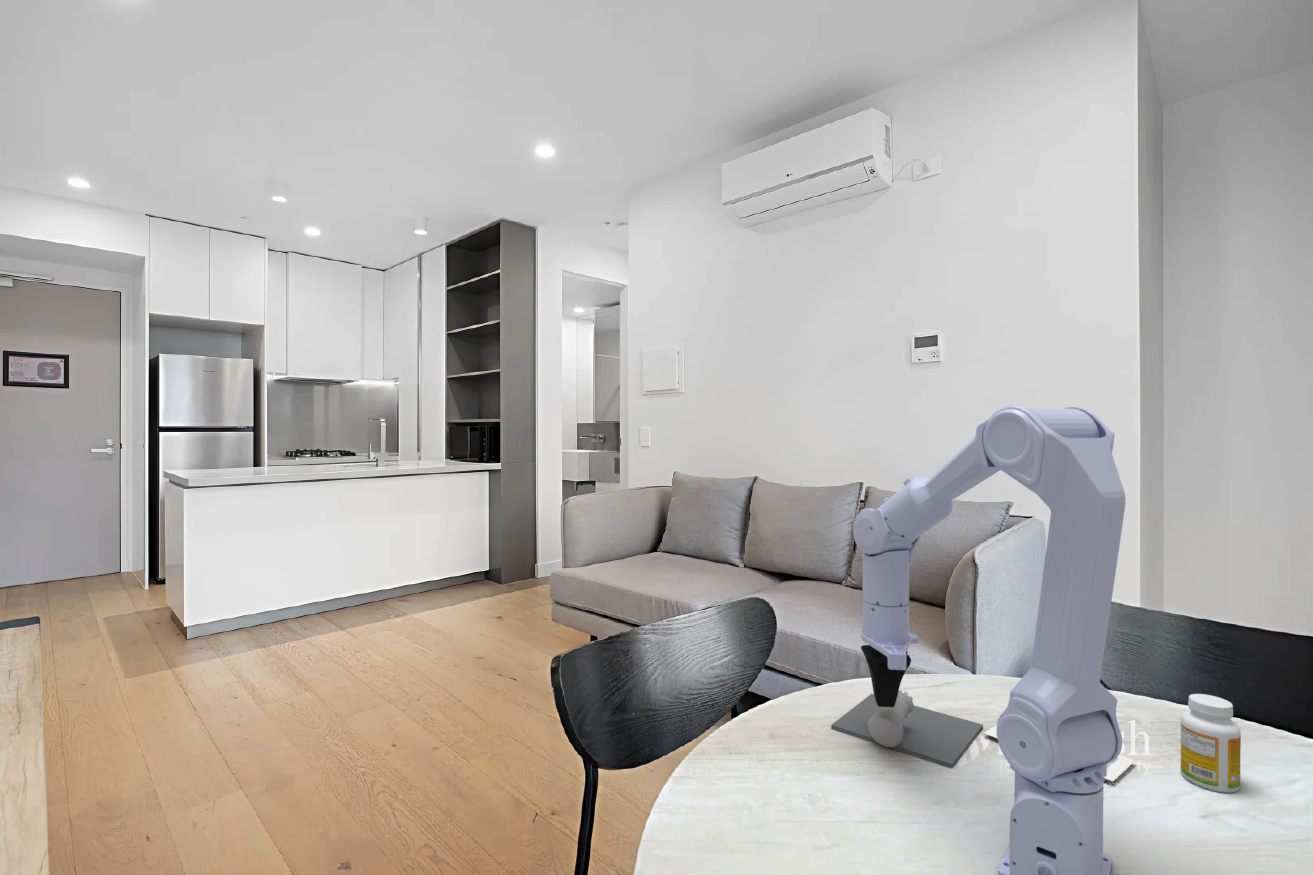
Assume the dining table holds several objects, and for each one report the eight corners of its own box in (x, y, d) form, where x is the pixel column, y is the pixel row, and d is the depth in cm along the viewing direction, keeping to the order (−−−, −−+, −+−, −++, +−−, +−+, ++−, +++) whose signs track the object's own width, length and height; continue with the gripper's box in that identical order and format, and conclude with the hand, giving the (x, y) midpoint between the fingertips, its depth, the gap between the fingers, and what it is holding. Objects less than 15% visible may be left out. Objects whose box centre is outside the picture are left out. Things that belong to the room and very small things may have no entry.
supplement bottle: (1223, 772, 78) (1224, 693, 78) (1251, 797, 73) (1252, 712, 73) (1171, 766, 79) (1172, 688, 79) (1194, 790, 74) (1195, 706, 74)
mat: (952, 768, 79) (952, 764, 79) (831, 728, 90) (831, 724, 90) (982, 728, 90) (983, 724, 90) (871, 696, 100) (871, 693, 100)
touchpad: (1112, 790, 75) (1113, 772, 75) (983, 740, 87) (983, 725, 87) (1135, 768, 80) (1135, 751, 80) (1009, 724, 92) (1009, 709, 92)
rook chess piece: (867, 711, 84) (889, 678, 90) (864, 738, 85) (886, 704, 91) (902, 727, 81) (922, 692, 87) (898, 755, 83) (918, 718, 88)
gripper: (933, 618, 75) (932, 733, 76) (904, 588, 90) (904, 684, 90) (871, 616, 77) (870, 728, 77) (852, 586, 91) (852, 681, 91)
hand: (885, 704), depth 83 cm, fingers closed
